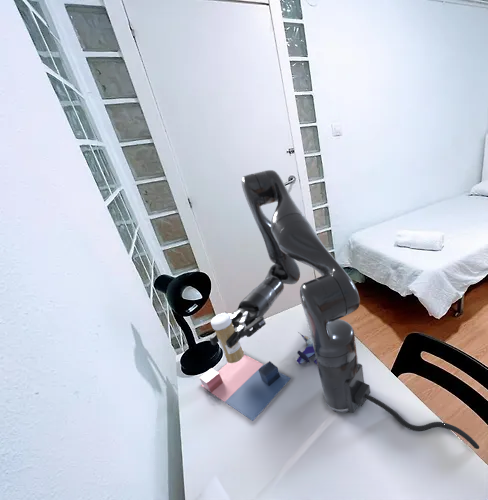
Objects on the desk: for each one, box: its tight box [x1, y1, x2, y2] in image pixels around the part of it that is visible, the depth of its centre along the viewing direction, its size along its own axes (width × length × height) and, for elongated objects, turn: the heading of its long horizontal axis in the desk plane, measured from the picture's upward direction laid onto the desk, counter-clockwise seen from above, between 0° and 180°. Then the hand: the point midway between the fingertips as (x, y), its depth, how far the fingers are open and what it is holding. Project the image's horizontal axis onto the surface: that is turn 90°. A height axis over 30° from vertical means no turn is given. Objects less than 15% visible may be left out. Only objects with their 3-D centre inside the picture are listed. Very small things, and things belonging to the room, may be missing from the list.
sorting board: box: [200, 353, 291, 422], centre depth 74 cm, size 21×13×1 cm, turn 58°
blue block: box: [258, 360, 280, 386], centre depth 73 cm, size 4×4×4 cm
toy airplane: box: [295, 331, 317, 365], centre depth 81 cm, size 13×14×4 cm
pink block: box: [199, 367, 223, 393], centre depth 74 cm, size 4×4×4 cm
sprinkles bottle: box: [210, 312, 245, 363], centre depth 72 cm, size 5×5×14 cm
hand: (220, 343), depth 69 cm, fingers closed on sprinkles bottle, 4 cm apart
